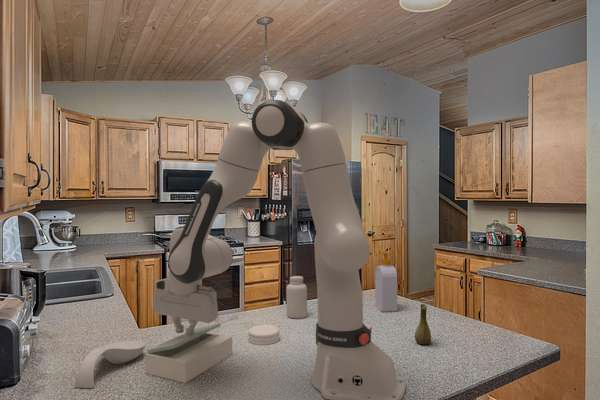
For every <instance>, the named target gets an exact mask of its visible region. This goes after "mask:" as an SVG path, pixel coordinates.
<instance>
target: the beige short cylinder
mask: <svg viewBox="0 0 600 400" xmlns="http://www.w3.org/2000/svg"><path fill="white" fill-rule="evenodd" d="M247 333H248V335H247V336H248V342H249V343H251V344H254V345H257V346H259V345H260V346H265V345H272V344H273V345H274V344H276V343H277V342H279V340H280V335H281V334H280V328H279V327H278V326H275V325H270V324H259V325H255V326H252V327H250V328H249V329H248V332H247Z"/></svg>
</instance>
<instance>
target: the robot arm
mask: <svg viewBox="0 0 600 400" xmlns="http://www.w3.org/2000/svg"><path fill="white" fill-rule="evenodd" d="M270 150H275V151H292V150H293V151H295V152H296V154H297V156H298V160H299V163H300V167H301V172H302V173H301V174H302V179H303V183H304V188H305V194H306V198H307V203H308V207H309V209H310V214H311V217H312V221H313V225H314V228H315V231H316V234H315V237H314V241H313V243H314V264H315V265H314V266H315V276H316V277H315V279H316V289H317V292H316V293H317V294H316V295H317V322H316V324H315V344H316V356H315V363H314V368H313V372H312V376H311V382H310V383H311V384H312V386H313V387H314V388H315V389H317V390H318V391H319V392H320V394H321V396H322V397H323V399H326V400H402V399H403V397H404V396H405V394H406V381H405V380H404V378H403V377H402V376H400V375H397V374H396V373H397V372H396V368H395V364H394V361H393V359H392V358H391V356H389V354H387V353H386V352H385V351H383V350H382V349H381V348H380V347H379V346H378V345H376V344H375V343H374V342H373V341H372V332H373V331H372V329H373V327H372V326H370V327H369V328H368V327H367V326H366V324H364V321H363V319H364V316H363V315H364V314H363V313H364V311H363V310H364V308H363V307H364V306H363V305H364V304H363V303H364V301H363V297H364V295H363V289H362V284H361V280H360V279H361V278H360V272H359V270H360V269H362V268H363V267H364V266H365V265H366V264H367V262H368V260H369V258H370V253H371V250H370V249H371V248H370V244H369V241H368V238H367V236H366V233H365V230H364V229H365V228H364V226H363V222H362V220H361V216H360V213H359V209H358V206H357V204H356V201H355V198H354V195H353V189H352V185H351V179H350V175H349V170H348V169H349V168H348V165H347V160H346V155H345V153H344V148H343V146H342V142H341V140H340V137H339V135H338V132H337V130H336V127H334V126H333V125H332V124H330V123H326V122H314V123H309V122H308V119H307V117H306V116H305V115H304V114H303V113H302V112H301V111H300V110H299V109H297V108H296V107H295V106H293V105H292V104H289V103H287V102H286V101H283V100H281V99H268V100H266V101H262V103H260V104H259V105H258V106H257V107H256V108H255V109H254V111H253V114H252V117H251V121H248V120H243V121H236V122H234V123H233V124H232V125H231V126H230V128H229V130H228V132H227V134H226V136H225V138H224V140H223V142H222V146H221V148H220V150H219V153H218V154H219V155H218V157H217V160H216V163H215V166H214V167H213V168H214V169H213V170H212V173H211V174H210V175H209V178H208V179H207V181H206V182H205V183H204V184H203V185H202V187H201V189H200V190H199V192H198V193H197V195H196V198H195V200H194V202H193V205H192V207H191V210H190V212H189V214H188V217H187V219H186V222H185V224H184V225H183V226H178V227H175V229H173V230H172V232H171V236H170V239H169V255H168V259H167V264H168V269H169V271H168V277H166V278H163V279H159V280H156V281H154V283H153V286H154V289H155V290H154V292H153V300H152V310H153V311H154V314H157V315H163V316H166V317H167V316H168V317H171V321H172V322H173V326H174V327H175V331H174V332H175V333H176V334H184V333H186V335H190V336H191V335H193V334H194V329H195V328H196V326H197V324H198V322H201V323H206V324H210V323H212V322H216V319H217V318H218V317H219V307H218V300H217V297H218V296H217V295H218V294H217V291H216V290H215V289H213V287H212V286H205V285H203V279H206V278H208V277H212V276H216V275H219V274H222V273H223V272H226V271H227V270H229V269H230V268H231V265H232V264H233V259H234V255H233V249H232V247H231V246H230V244H229V242H227V241H226V240H225V239H222V238H218V237H215V236H213V235H211V234H210V233H211V230H212V227H213V225H214V223H215V220H216V218H217V217H218V215H219V214H220V212H221V211H222V210H223V209H224V208H226V207H228V206H229V205H231V204H233V203H234V202H236V201H238V200H241V199H243V198H245V197H246V196H248V195H249V194H250V193H251V192H252V190H253V189H254V187H255V185H256V182H257V180H258V176H259V173H260V170H261V167H262V163H263V161H264V158H265V156H266V154H267V153H268V152H269V151H270ZM182 319H184V320H188V324H189V326H188V327H187V328H185V326H184V325H183V324H182V321H181V320H182ZM184 331H185V332H184Z"/></svg>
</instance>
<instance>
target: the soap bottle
mask: <svg viewBox="0 0 600 400" xmlns="http://www.w3.org/2000/svg"><path fill="white" fill-rule="evenodd" d="M379 255H383V259H381V260H380V261H381V264H380V265H377V266H376V267H375V272H374V274H375V275H374V279H375V280H374V282H375V284H374V287H375V289H374V290H375V292H374V293H375V296H374V297H375V299H374V300H375V302H374V303H375V308H377V309H378V310H379V311H380V312H381V313H387V312H388V313H389V312H391V313H392V312H398V273H397V269H396V267H395V266H394V265H391V259H388V256H391V254H390V253H388V252H378V253H377V254H376V256H379Z"/></svg>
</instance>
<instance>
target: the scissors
mask: <svg viewBox="0 0 600 400" xmlns="http://www.w3.org/2000/svg"><path fill="white" fill-rule="evenodd" d="M220 319H221V317H220V316H218V317H217V319H216V320H215V322H217V323H216V324H218V323H220V326H219V327H217V328H215V329H216V330H215V331H216V332H215V333H217V332H218V331H219V329H220V327H221V325H223V324H225V323H226V321H228V322H230V321H235V319H236V320H238V319H239V317H238V316H231V317H229V318H228V320H224V321H219V320H220ZM229 320H230V321H229ZM224 322H225V323H224ZM222 323H223V324H222Z"/></svg>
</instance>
